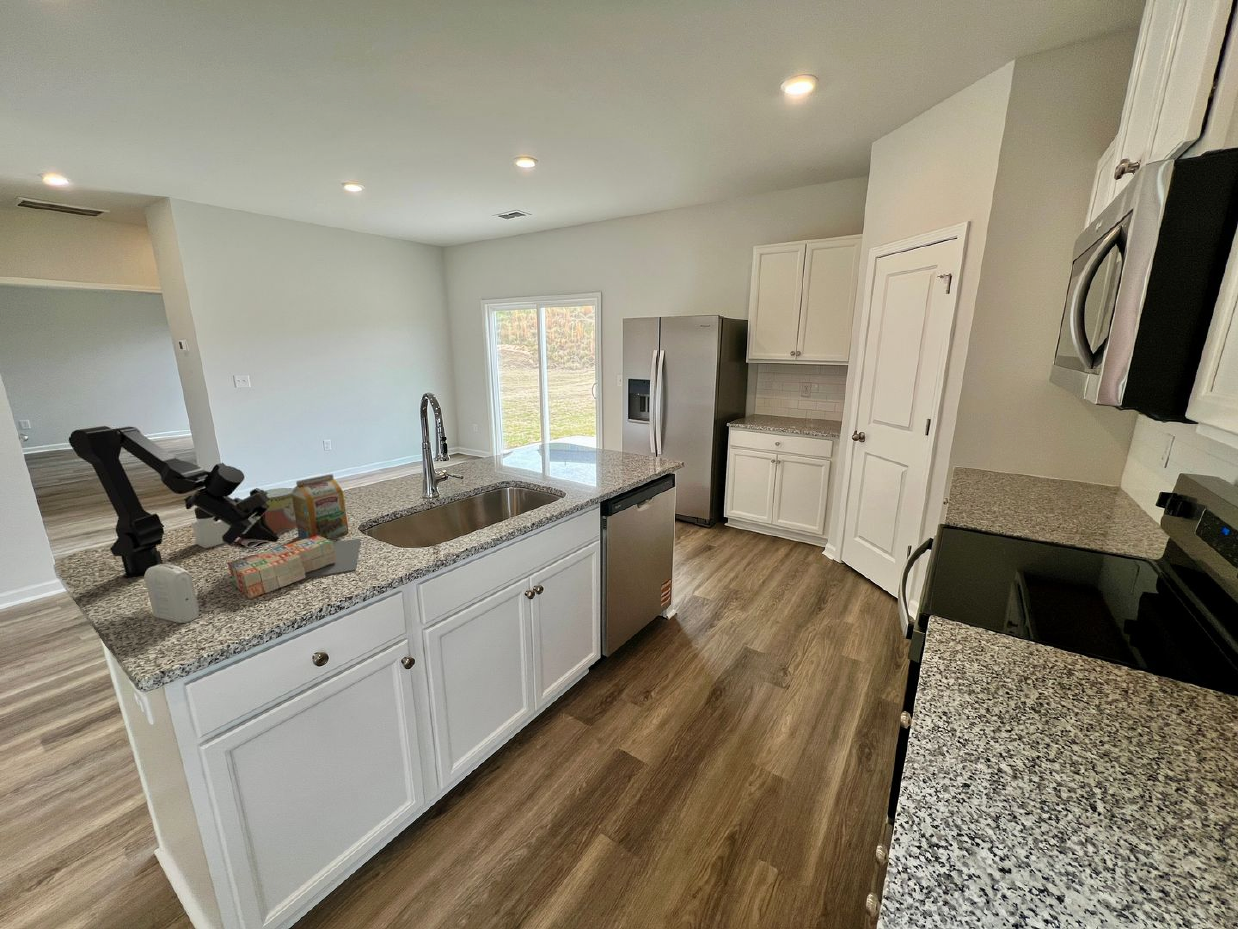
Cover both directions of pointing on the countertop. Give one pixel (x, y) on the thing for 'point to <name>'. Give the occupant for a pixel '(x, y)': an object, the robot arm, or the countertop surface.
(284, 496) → the canned food
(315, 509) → the milk carton
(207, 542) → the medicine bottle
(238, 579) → the stack of blocks
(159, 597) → the photo printer
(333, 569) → the mat
